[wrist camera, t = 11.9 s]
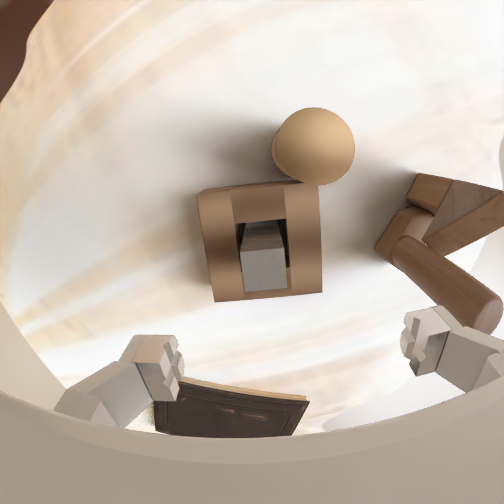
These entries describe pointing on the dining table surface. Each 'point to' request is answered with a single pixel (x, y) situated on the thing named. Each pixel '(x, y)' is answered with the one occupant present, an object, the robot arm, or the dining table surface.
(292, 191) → the socket block
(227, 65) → the dining table surface
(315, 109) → the oak dowel
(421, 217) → the wooden block
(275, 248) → the brushed metal bar
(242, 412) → the hardcover book
